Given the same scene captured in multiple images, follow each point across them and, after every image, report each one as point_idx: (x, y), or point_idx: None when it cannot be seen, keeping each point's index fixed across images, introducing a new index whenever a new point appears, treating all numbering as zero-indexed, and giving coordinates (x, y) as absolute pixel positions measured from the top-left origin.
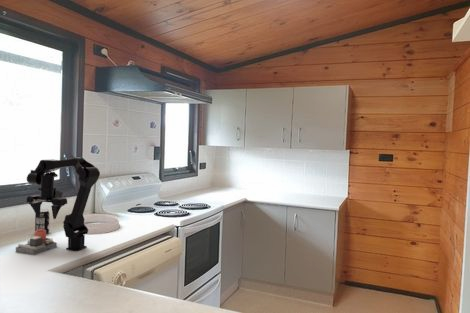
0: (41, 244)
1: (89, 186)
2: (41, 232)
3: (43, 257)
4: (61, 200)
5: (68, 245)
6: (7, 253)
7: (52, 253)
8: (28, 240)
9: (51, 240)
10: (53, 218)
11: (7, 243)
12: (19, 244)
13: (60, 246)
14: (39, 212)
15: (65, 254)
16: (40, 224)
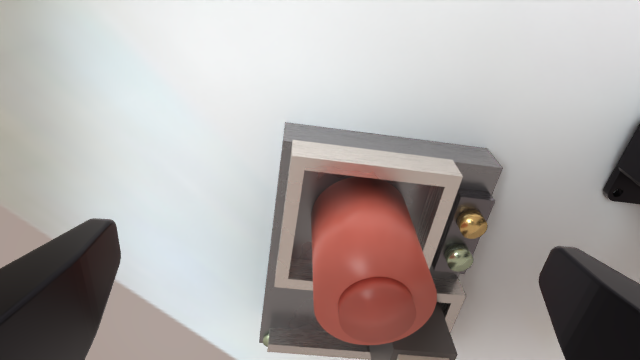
0: (438, 306)
1: None
2: (413, 329)
3: (505, 345)
4: None
5: (631, 177)
6: (238, 345)
7: (528, 282)
8: (275, 281)
9: (478, 223)
10: (544, 293)
11: (2, 184)
12: (279, 352)
13: (519, 131)
14: (58, 300)
15: (630, 276)
16: None
